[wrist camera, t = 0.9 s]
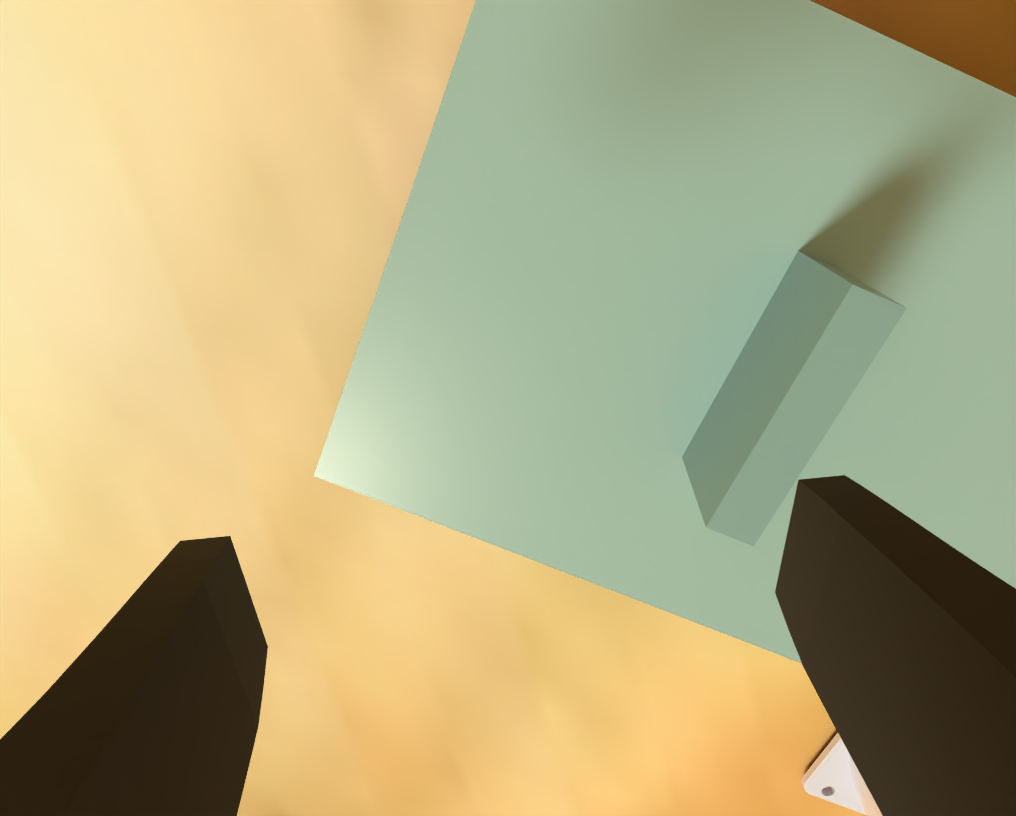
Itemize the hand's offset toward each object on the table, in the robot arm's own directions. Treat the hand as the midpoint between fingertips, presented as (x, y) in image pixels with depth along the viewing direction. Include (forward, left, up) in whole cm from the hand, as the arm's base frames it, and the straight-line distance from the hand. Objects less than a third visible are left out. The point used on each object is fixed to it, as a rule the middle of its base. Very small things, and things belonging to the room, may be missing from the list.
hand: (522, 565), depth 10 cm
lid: (-5, -1, -12) cm, 13 cm away
